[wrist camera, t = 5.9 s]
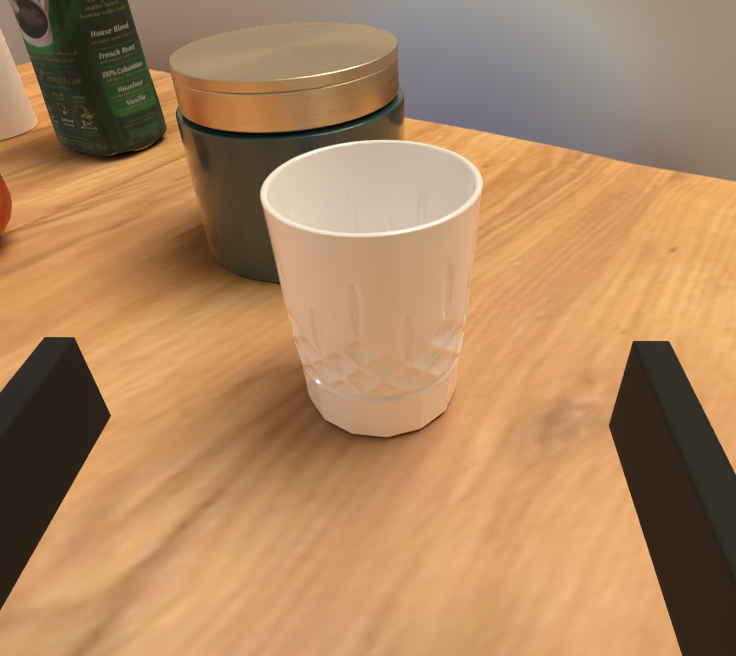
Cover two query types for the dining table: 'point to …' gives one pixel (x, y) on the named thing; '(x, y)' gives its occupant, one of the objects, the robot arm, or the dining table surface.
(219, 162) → the jar
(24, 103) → the cylindrical container
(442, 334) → the white cup
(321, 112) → the jar lid
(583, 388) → the dining table surface
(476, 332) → the dining table surface
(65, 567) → the dining table surface
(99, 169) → the dining table surface
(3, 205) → the fruit
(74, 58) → the coffee jar
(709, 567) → the robot arm
